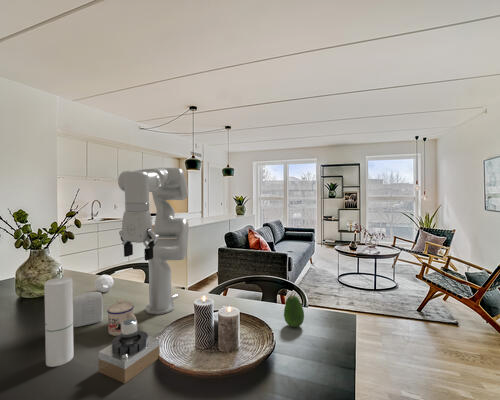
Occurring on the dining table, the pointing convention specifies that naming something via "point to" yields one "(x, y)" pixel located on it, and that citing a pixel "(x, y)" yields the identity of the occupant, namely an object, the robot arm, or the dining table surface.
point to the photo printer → (87, 309)
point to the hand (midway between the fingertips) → (138, 257)
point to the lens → (129, 331)
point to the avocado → (293, 312)
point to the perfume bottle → (104, 283)
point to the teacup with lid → (119, 316)
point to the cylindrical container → (58, 321)
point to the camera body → (128, 357)
